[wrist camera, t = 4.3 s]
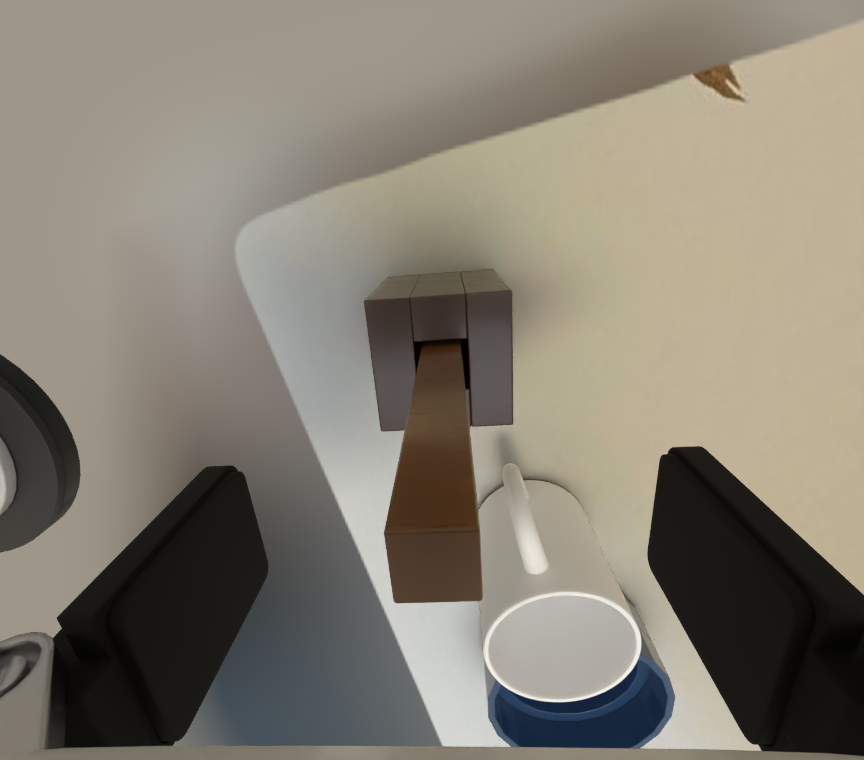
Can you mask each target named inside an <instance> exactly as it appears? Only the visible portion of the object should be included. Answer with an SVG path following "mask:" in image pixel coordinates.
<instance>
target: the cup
mask: <svg viewBox="0 0 864 760" xmlns="http://www.w3.org/2000/svg"><path fill="white" fill-rule="evenodd" d="M502 478H503V483H504V486H503V487H501V488H499V489H498V490H496V491H495V492H494V493H492V494H491V495H490V496H489V497H488V498H487V499H486V500H485V501H484V502H483V504H482V505H481V507H480V509H479V510H478V514H479V523H480V537H481V561H482V584H483V598H482V600H481V601H479V606H480V619H481V631H482V643H483V654H484V659H485V662H486V665H487V667H488V669H489V671H490V672H491V674H492V675H493V676H494V678H495V679H496V680H497V681H498V682H499V683H500V684H502V685H503V686H504V687H506V688H507V689H509V690H510V691H512V692H514V693H516V694H518V695H521V696H523V697H526V698H530V699H534V700H538V701H545V702H571V701H578V700H582V699H587V698H590V697H593V696H596V695H599V694H601V693H603V692H605V691H607V690H609V689H611V688H613V687H614V686H616V685H617V684H618V683H620V682H621V681H622V680H623V679H624V678H625V677H627V675H628V674H629V673H630V672H631V671H632V669H633V668H634V666H635V665H636V663H637V661H638V658H639V655H640V652H641V634H640V630H639V628H638V625H637V623H636V621H635V619H634V617H633V615H632V612H631V610H630V608H629V606H628V604H627V602H626V600H625V597H624V595H623V593H622V591H621V589H620V587H619V585H618V583H617V580H616V578H615V576H614V574H613V572H612V570H611V568H610V565H609V563H608V561H607V559H606V557H605V555H604V553H603V550H602V548H601V546H600V544H599V542H598V540H597V538H596V535H595V533H594V531H593V529H592V527H591V525H590V523H589V520H588V518H587V516H586V514H585V512H584V510H583V509H582V507H581V505H580V504H579V503H578V501H577V500H576V499H575V498H574V497H573V496H572V495H571V494H570V493H569V492H567V491H566V490H564V489H563V488H561V487H559V486H557V485H555V484H552V483H549V482H545V481H538V480H524V481H523V478H522V475H521V473H520V470H519V469H518V467H517V466H516V465H515V464H512V463H510V464H506V465H505V466H504V467H503V469H502Z"/></svg>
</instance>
